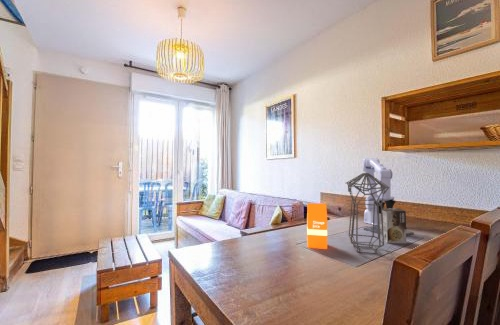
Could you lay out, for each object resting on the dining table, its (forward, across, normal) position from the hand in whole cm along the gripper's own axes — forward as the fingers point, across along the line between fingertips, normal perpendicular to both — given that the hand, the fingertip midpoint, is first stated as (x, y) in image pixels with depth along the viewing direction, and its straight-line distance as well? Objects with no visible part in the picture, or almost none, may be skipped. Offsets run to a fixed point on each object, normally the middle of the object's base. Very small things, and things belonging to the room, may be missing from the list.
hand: (385, 213), depth 139 cm
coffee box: (+10, -15, -15) cm, 24 cm away
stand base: (+10, 0, -2) cm, 10 cm away
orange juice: (+10, -54, -2) cm, 55 cm away
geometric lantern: (+10, -39, -18) cm, 44 cm away
